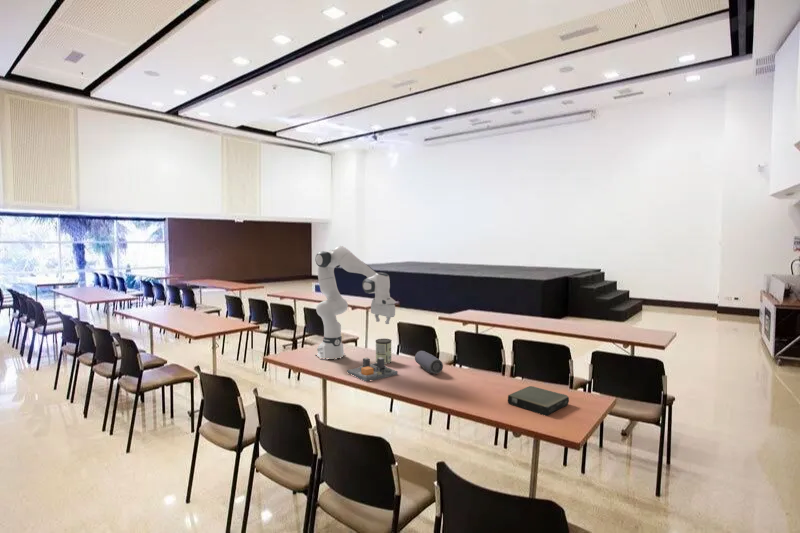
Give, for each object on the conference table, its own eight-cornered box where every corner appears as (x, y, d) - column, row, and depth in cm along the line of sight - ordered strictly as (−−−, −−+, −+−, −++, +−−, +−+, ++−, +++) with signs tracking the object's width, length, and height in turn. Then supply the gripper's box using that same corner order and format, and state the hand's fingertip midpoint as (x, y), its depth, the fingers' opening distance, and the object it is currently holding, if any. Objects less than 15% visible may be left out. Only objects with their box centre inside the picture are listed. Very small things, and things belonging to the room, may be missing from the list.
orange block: (361, 374, 256) (361, 367, 256) (368, 373, 259) (368, 366, 259) (366, 376, 252) (366, 369, 252) (373, 375, 255) (373, 368, 255)
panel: (347, 373, 265) (347, 368, 265) (377, 366, 279) (377, 361, 278) (366, 382, 249) (366, 376, 249) (397, 374, 263) (397, 369, 263)
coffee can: (376, 359, 296) (376, 338, 295) (392, 359, 295) (392, 338, 294) (374, 363, 286) (374, 341, 285) (390, 364, 285) (390, 342, 284)
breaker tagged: (362, 367, 269) (362, 358, 268) (366, 366, 271) (366, 357, 270) (365, 368, 266) (365, 359, 266) (369, 368, 268) (369, 358, 268)
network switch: (525, 393, 233) (525, 383, 233) (571, 404, 218) (571, 394, 218) (504, 406, 215) (505, 396, 215) (553, 418, 200) (553, 407, 200)
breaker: (377, 367, 269) (377, 357, 269) (381, 366, 271) (381, 357, 271) (380, 368, 267) (380, 358, 267) (384, 367, 269) (384, 358, 268)
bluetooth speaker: (443, 375, 263) (444, 358, 262) (429, 376, 260) (429, 359, 259) (427, 364, 284) (427, 349, 283) (413, 366, 281) (414, 350, 280)
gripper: (368, 298, 275) (368, 320, 275) (388, 302, 259) (388, 325, 260) (376, 297, 278) (376, 319, 279) (397, 301, 263) (397, 324, 263)
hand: (382, 322), depth 269 cm, fingers open, 8 cm apart
